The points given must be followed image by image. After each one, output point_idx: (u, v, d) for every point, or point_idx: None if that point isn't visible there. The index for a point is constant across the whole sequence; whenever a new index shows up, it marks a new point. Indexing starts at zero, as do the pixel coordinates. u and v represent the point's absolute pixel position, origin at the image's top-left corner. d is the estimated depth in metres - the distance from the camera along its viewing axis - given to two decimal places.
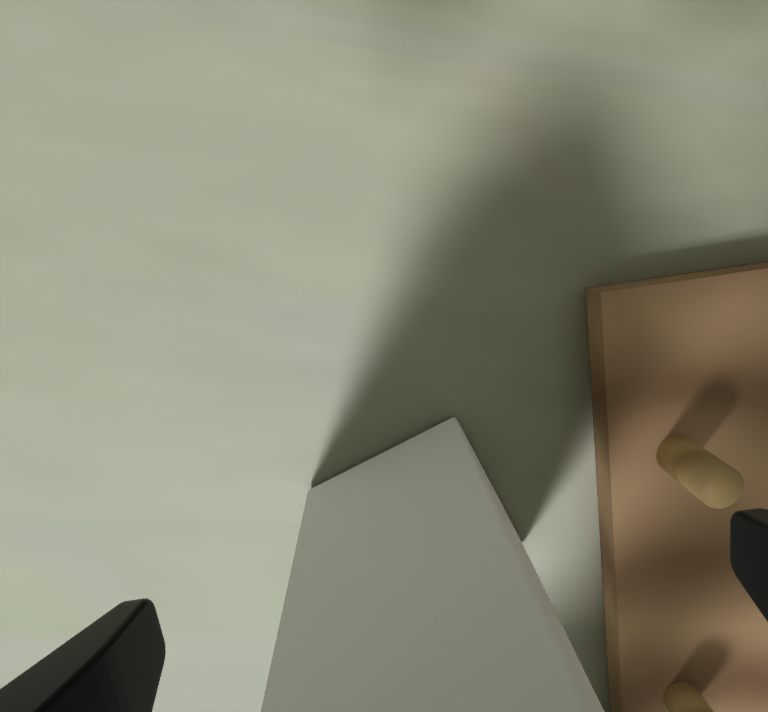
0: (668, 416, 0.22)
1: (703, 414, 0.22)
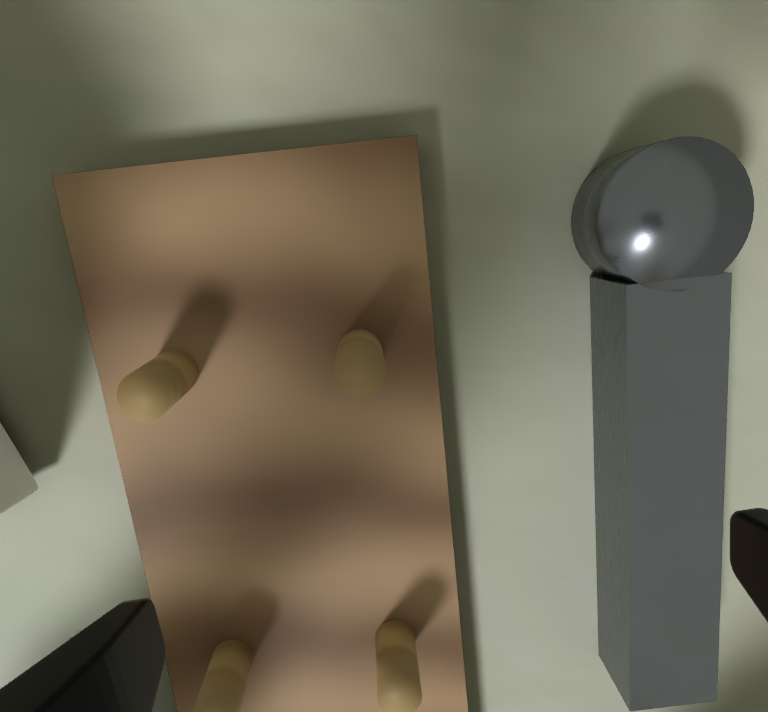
0: (159, 327, 0.19)
1: (200, 326, 0.20)
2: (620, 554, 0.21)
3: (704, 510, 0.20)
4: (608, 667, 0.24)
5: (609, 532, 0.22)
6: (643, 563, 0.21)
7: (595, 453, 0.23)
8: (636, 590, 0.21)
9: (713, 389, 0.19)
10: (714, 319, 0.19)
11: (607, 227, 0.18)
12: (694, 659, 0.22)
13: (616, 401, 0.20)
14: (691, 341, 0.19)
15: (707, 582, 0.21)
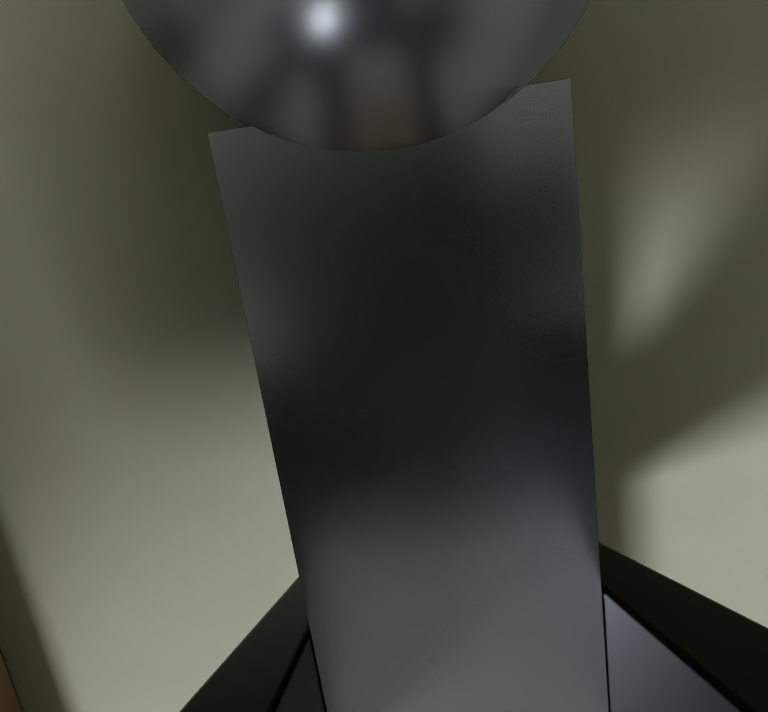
0: None
1: None
2: None
3: None
4: None
5: None
6: None
7: None
8: None
9: (549, 465, 0.06)
10: (528, 244, 0.06)
11: None
12: None
13: None
14: (461, 318, 0.06)
15: None
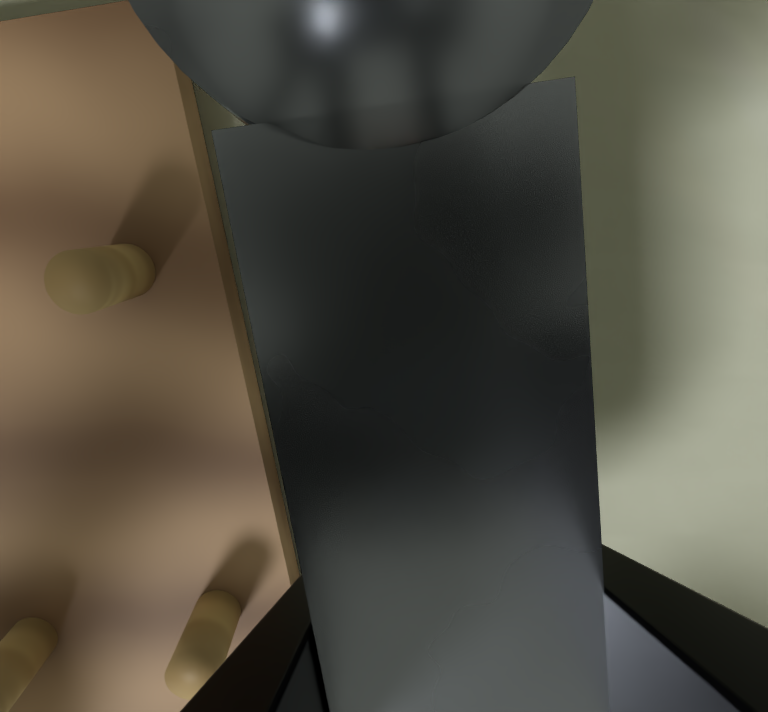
0: None
1: None
2: None
3: None
4: None
5: None
6: None
7: None
8: None
9: (552, 463, 0.06)
10: (532, 242, 0.06)
11: None
12: None
13: None
14: (464, 317, 0.06)
15: None
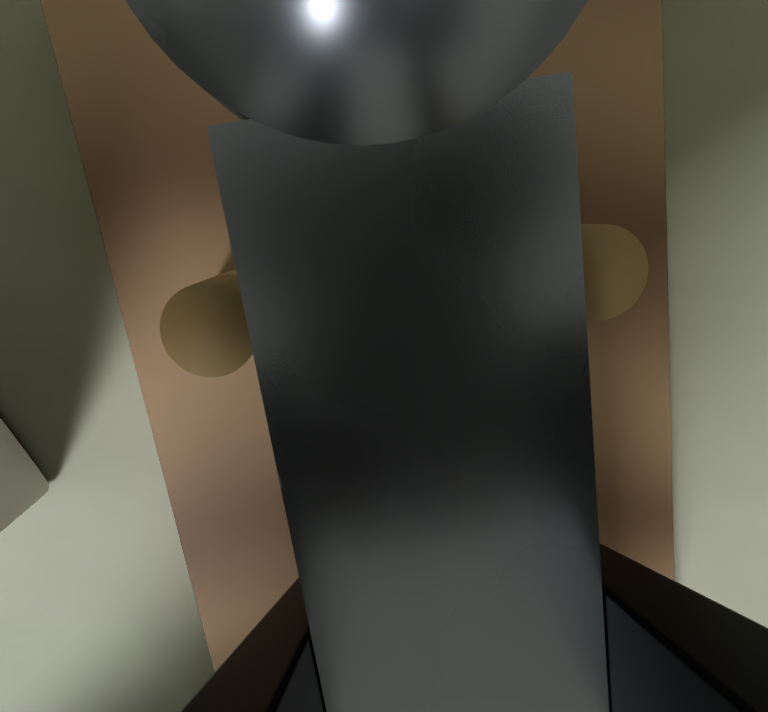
0: (218, 229, 0.12)
1: None
2: None
3: None
4: None
5: None
6: None
7: None
8: None
9: (550, 461, 0.06)
10: (529, 238, 0.06)
11: None
12: None
13: None
14: (461, 313, 0.06)
15: None
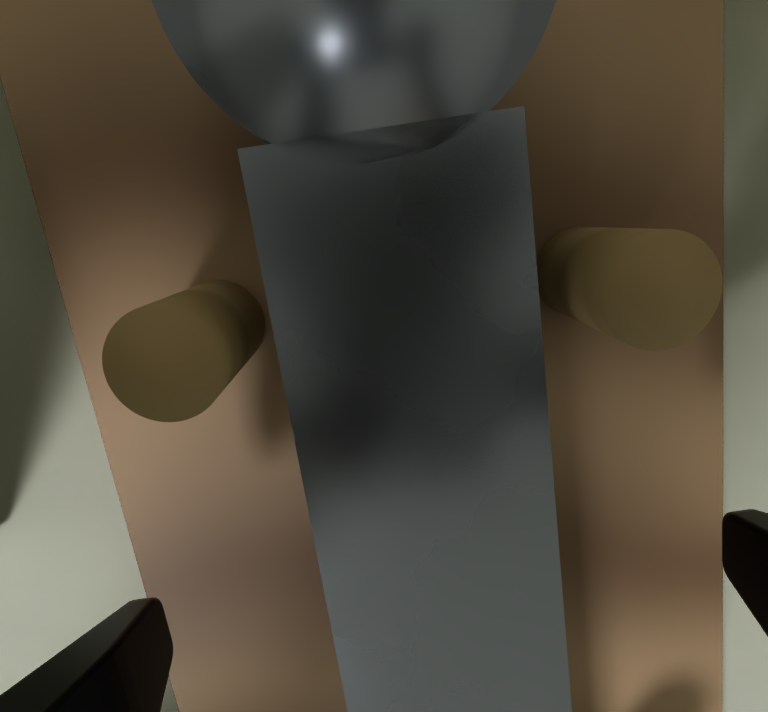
0: (187, 234, 0.10)
1: None
2: None
3: (525, 693, 0.09)
4: None
5: None
6: None
7: None
8: None
9: (512, 418, 0.08)
10: (492, 237, 0.07)
11: None
12: None
13: None
14: (439, 297, 0.07)
15: None
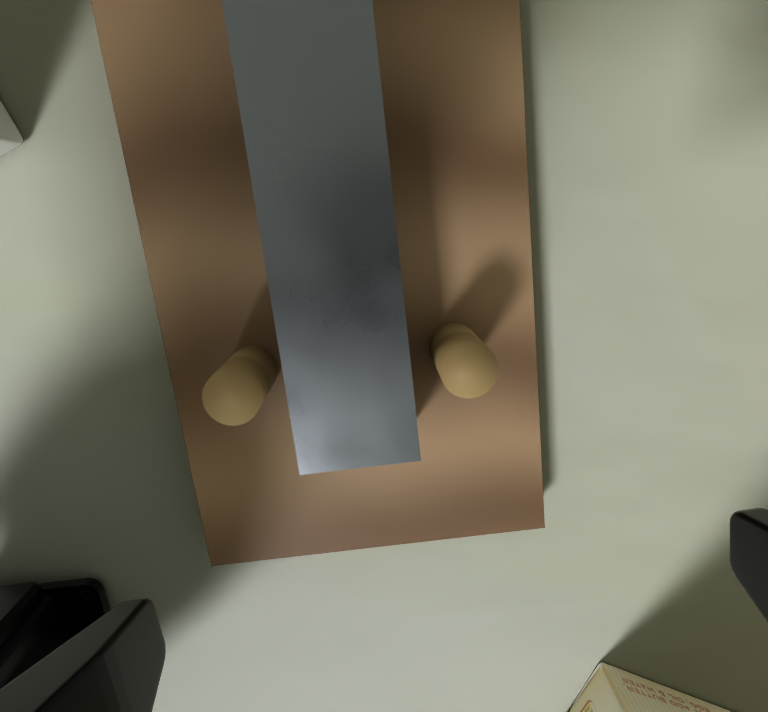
0: None
1: None
2: None
3: (360, 152, 0.14)
4: None
5: None
6: (283, 239, 0.14)
7: None
8: (278, 283, 0.15)
9: None
10: None
11: None
12: (379, 395, 0.15)
13: None
14: None
15: (381, 272, 0.15)
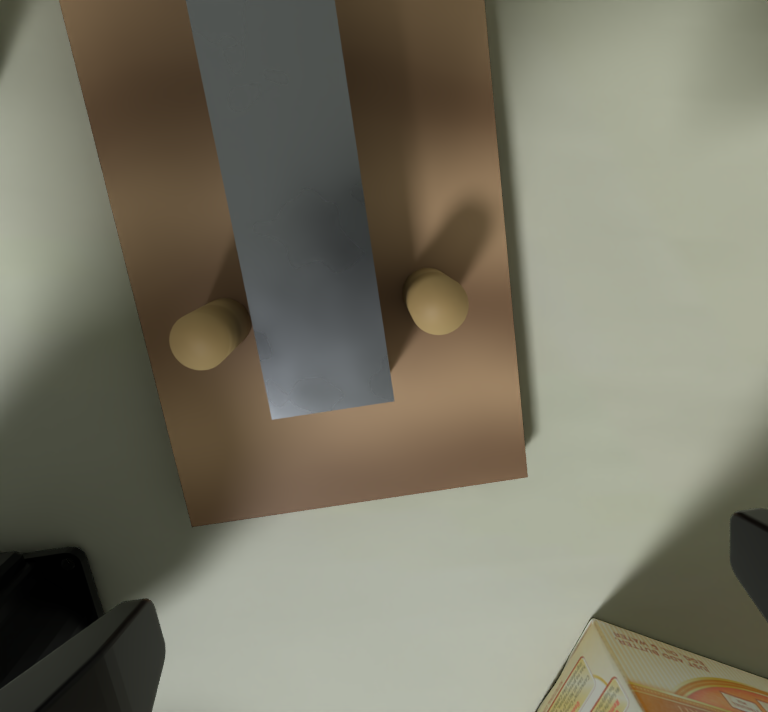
0: None
1: None
2: None
3: (318, 82, 0.14)
4: None
5: None
6: (244, 174, 0.14)
7: None
8: (241, 220, 0.14)
9: None
10: None
11: None
12: (349, 334, 0.15)
13: None
14: None
15: (345, 206, 0.14)
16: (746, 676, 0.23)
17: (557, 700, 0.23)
